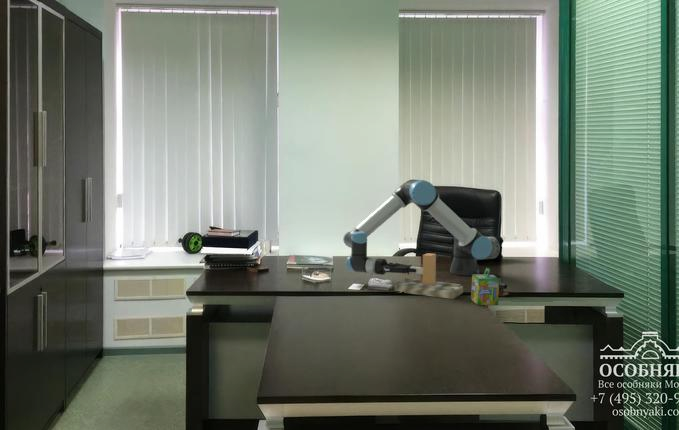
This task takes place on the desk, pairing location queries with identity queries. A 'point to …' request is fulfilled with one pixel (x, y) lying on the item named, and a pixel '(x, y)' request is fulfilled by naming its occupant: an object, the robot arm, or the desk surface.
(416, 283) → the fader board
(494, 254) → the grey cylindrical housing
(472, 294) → the chalk box
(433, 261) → the tall orange upright pillar
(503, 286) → the electronic device
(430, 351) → the desk surface
